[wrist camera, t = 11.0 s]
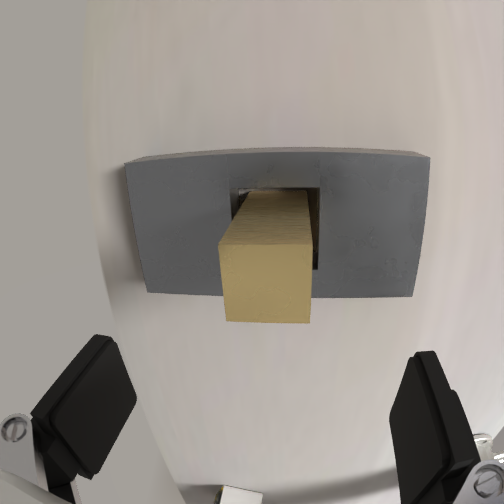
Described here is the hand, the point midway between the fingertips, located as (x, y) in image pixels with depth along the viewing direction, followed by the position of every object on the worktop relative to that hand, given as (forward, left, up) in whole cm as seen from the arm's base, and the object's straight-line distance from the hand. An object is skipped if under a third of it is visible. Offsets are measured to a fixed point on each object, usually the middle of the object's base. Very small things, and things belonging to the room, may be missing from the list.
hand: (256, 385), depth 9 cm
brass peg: (0, 0, -16) cm, 16 cm away
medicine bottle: (+7, +50, -16) cm, 53 cm away
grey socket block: (0, 0, -16) cm, 16 cm away
